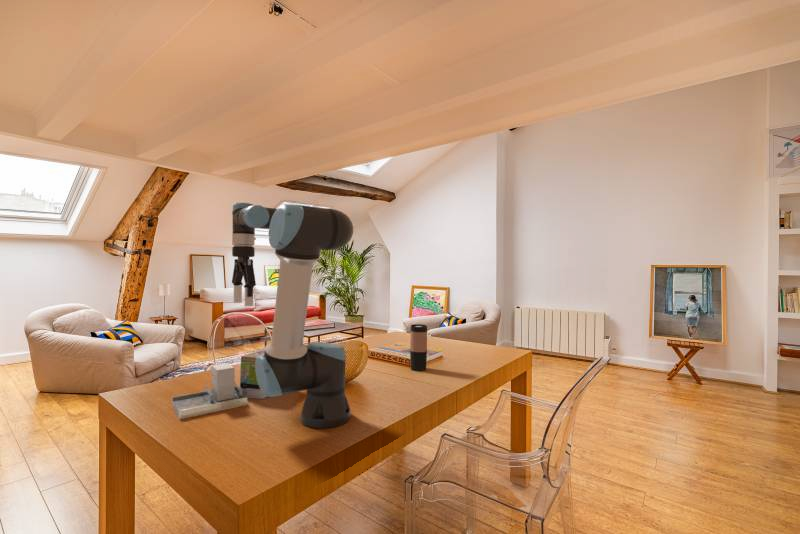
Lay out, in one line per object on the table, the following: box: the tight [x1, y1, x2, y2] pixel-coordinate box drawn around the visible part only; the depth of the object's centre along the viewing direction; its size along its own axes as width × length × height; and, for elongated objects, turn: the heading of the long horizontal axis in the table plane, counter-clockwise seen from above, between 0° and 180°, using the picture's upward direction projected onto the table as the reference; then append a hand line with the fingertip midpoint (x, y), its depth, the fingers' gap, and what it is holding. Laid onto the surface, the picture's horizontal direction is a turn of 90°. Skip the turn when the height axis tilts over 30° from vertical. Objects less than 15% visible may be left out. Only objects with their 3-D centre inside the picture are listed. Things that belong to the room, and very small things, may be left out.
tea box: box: [239, 347, 268, 400], centre depth 143 cm, size 15×10×15 cm, turn 168°
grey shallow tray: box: [171, 381, 248, 420], centre depth 129 cm, size 14×20×5 cm
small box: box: [210, 362, 235, 401], centre depth 131 cm, size 8×6×10 cm
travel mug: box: [409, 323, 428, 372], centre depth 176 cm, size 8×8×20 cm
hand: (243, 304), depth 140 cm, fingers open, 13 cm apart
